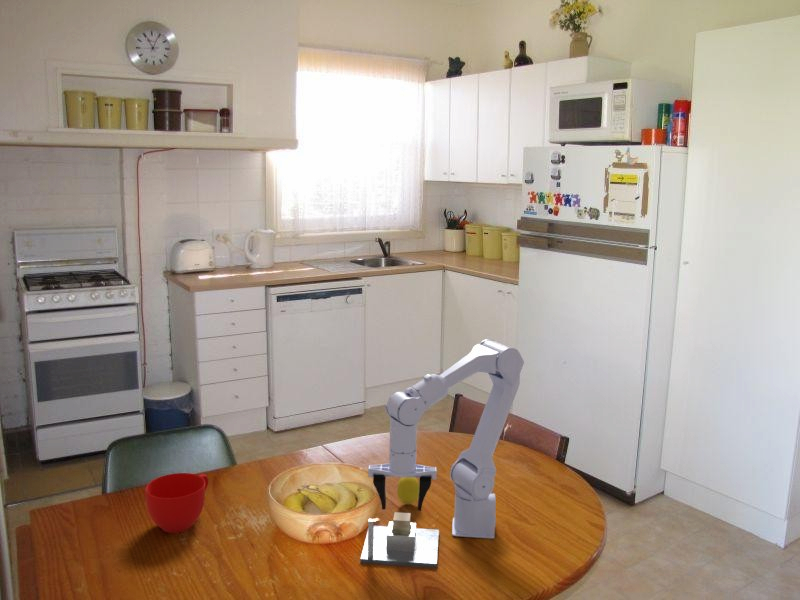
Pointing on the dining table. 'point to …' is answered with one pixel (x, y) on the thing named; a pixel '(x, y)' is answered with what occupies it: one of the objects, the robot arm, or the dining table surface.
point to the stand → (400, 546)
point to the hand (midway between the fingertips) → (401, 507)
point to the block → (401, 523)
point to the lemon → (408, 489)
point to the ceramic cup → (176, 500)
